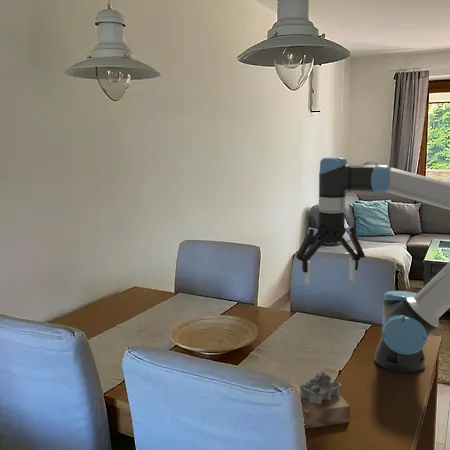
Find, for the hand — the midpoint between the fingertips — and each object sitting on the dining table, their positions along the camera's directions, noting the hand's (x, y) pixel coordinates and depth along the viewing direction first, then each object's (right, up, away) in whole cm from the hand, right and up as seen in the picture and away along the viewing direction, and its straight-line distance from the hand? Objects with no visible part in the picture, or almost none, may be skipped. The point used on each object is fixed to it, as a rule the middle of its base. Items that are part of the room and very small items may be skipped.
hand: (329, 281), depth 151 cm
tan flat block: (-7, -33, -17) cm, 37 cm away
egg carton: (-6, -28, -17) cm, 34 cm away
